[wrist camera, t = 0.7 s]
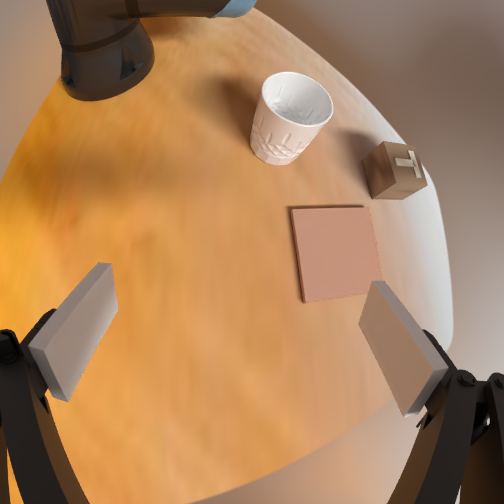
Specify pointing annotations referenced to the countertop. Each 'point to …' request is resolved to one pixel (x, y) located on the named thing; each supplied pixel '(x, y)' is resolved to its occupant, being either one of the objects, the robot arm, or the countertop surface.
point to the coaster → (335, 252)
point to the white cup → (288, 116)
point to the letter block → (393, 171)
